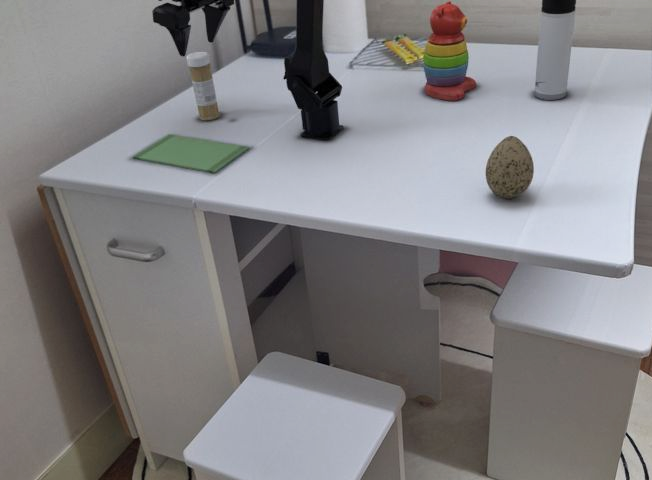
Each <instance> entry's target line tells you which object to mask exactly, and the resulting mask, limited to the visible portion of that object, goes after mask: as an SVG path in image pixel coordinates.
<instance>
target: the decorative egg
mask: <svg viewBox="0 0 652 480" xmlns="http://www.w3.org/2000/svg"><path fill="white" fill-rule="evenodd" d="M534 170H535V167H534V160H533V157H532V154H531V152H530V150H529V149H528V147H527V146H526V144H525V143H524V142H523V141H522V140H521V139H519V138H518V137H517V136H514V135H509V136H506V137H504V138H503V139H502V140H501V141H499V143H497V145H496V146H495V147H494V148H493V150H492V151H491V153H490V154H489V157H488V159H487V162H486V166H485V180H486V184H487V185H488V188H489V189H490V191H491V192H492V193H493V194H494V195H495V196H497V197H499V198H501V199H508V200H510V199H514V198H518V197H519V196H521V195H522V194H524V193H525V192H526V191H527V190H528V188H529V187H530V186H531V184H532V182H533V178H534V173H535V171H534Z"/></svg>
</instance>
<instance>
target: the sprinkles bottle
mask: <svg viewBox="0 0 652 480" xmlns="http://www.w3.org/2000/svg"><path fill="white" fill-rule="evenodd" d="M186 63H187V66H188V68H189V73H190V78H191V84H192V88H193V93H194V99H195V102H196V103H195V104H196V105H197V111H198V118H199V120H201V121H213V120H216V119H218V118H219V117H220V115H221V112H220V109H219V106H218V105H219V104H218V100H217V93H216V89H215V84H214V79H213V78H214V77H213V73H212V68H211V59H210V55H209V52H207V51H195V52H191V53H189V54H187V56H186Z"/></svg>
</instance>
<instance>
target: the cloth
mask: <svg viewBox="0 0 652 480" xmlns="http://www.w3.org/2000/svg"><path fill="white" fill-rule="evenodd" d="M249 150H250V147H249V146H246V145H239V144H232V143H227V142H219V141H213V140H208V139H201V138H196V137H195V138H194V137H187V136H181V135H175V134H167V135H166V136H163V137H162V138H161V139H158V140H157V141H156V142H154V143H152V144H150V145H149V146H147V147H146V148H144V149H142V150H141V151H139V152H137V153H136V154H134V155H132V159H134V160H139V161H146V162H152V163H156V164H163V165H167V166H174V167H179V168H185V169H188V170H189V169H190V170H195V171H201V172H206V173H210V174H211V173H212V174H216V173H217V172H219V171H220V170H222V169H223V168H224V167H226V166H227V165H229V164H230V163H232V162H233V161H234V160H236V159H237V158H239V157H240V156H241V155H243V154H244V153H246V152H247V151H249Z"/></svg>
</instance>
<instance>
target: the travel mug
mask: <svg viewBox="0 0 652 480" xmlns="http://www.w3.org/2000/svg"><path fill="white" fill-rule="evenodd" d="M576 5H577V0H541V9H540V18H539V31H538V43H537V53H536V54H537V55H536V57H537V58H536V66H535V68H536V69H535V77H534V78H535V79H534V91H533V95H534V96H535V98H537V99H540V100H544V101H556V100H561V99H563V98H565V97H566V96H567V90H568V81H569V74H570V73H569V72H570V64H571V63H570V62H571V56H572V55H571V53H572V44H573V38H574V37H573V35H574V29H575V28H574V27H575V20H576V19H575V17H576Z"/></svg>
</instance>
